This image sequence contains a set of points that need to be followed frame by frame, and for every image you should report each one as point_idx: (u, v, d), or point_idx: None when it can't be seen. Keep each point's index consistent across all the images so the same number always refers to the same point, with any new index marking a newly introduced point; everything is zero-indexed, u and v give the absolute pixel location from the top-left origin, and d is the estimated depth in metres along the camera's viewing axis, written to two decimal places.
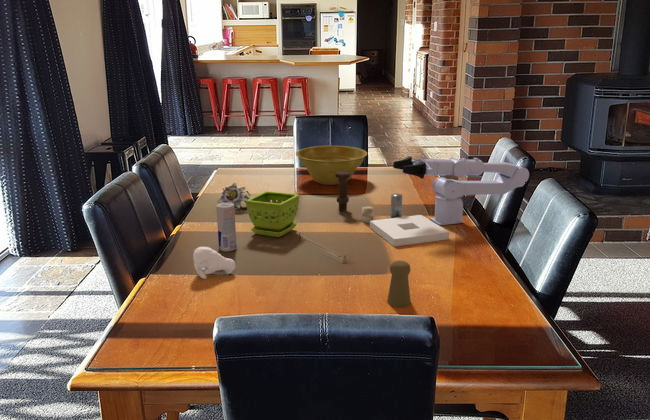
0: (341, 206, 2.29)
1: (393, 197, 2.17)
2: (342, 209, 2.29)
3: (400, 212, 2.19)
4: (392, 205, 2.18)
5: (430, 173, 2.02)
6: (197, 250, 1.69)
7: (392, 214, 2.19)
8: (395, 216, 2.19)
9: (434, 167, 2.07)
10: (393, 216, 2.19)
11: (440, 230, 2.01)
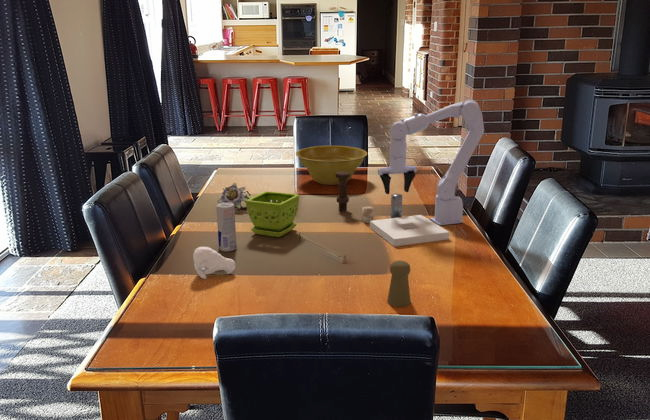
0: (341, 206, 2.29)
1: (393, 197, 2.17)
2: (342, 209, 2.29)
3: (400, 212, 2.19)
4: (392, 205, 2.18)
5: (379, 171, 2.13)
6: (197, 250, 1.69)
7: (392, 214, 2.19)
8: (395, 216, 2.19)
9: (390, 159, 2.14)
10: (393, 216, 2.19)
11: (440, 230, 2.01)
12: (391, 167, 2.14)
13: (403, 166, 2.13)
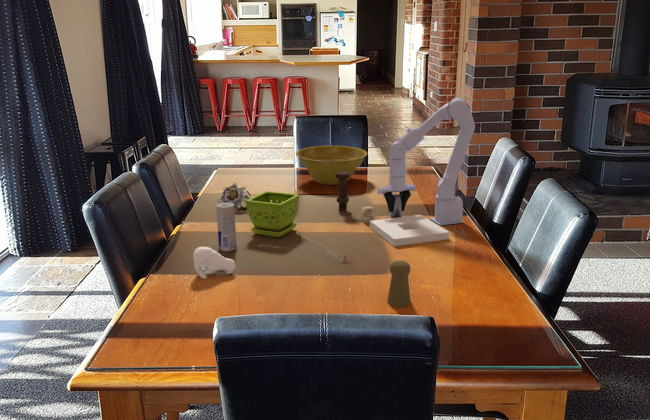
0: (341, 206, 2.29)
1: None
2: (342, 209, 2.29)
3: (400, 212, 2.19)
4: None
5: (379, 190, 2.15)
6: (197, 250, 1.69)
7: (392, 214, 2.19)
8: (395, 216, 2.19)
9: (389, 178, 2.16)
10: (393, 216, 2.19)
11: (440, 230, 2.01)
12: (391, 186, 2.16)
13: (402, 185, 2.15)
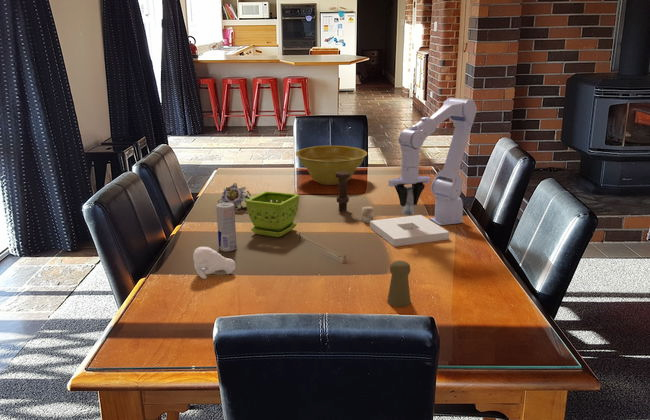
0: (341, 206, 2.29)
1: None
2: (342, 209, 2.29)
3: (412, 206, 2.02)
4: None
5: (390, 182, 1.98)
6: (197, 250, 1.69)
7: (404, 208, 2.03)
8: (407, 210, 2.02)
9: (401, 169, 1.99)
10: (405, 210, 2.02)
11: (440, 230, 2.01)
12: (403, 178, 1.99)
13: (416, 177, 1.98)
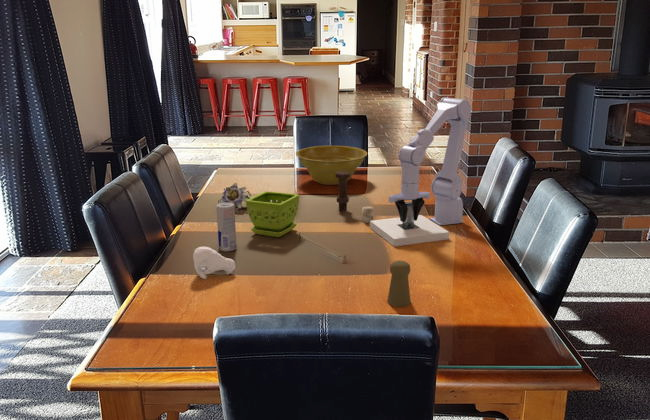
0: (341, 206, 2.29)
1: None
2: (342, 209, 2.29)
3: (412, 221, 2.03)
4: None
5: (390, 198, 1.99)
6: (197, 250, 1.69)
7: (404, 224, 2.04)
8: (407, 226, 2.03)
9: (401, 185, 2.00)
10: (405, 226, 2.03)
11: (440, 230, 2.01)
12: (403, 194, 2.00)
13: (416, 193, 1.99)
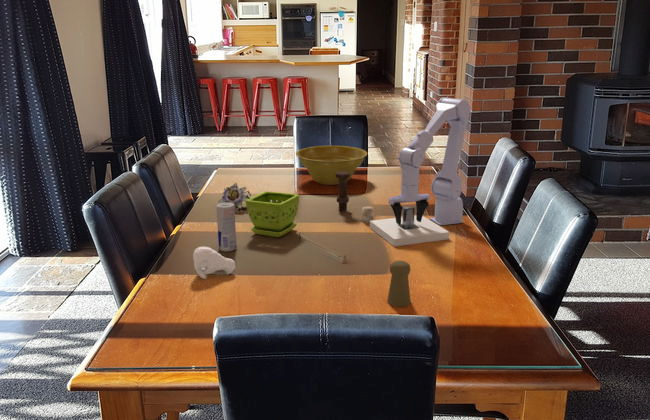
0: (341, 206, 2.29)
1: (404, 210, 2.02)
2: (342, 209, 2.29)
3: (412, 226, 2.03)
4: (403, 218, 2.03)
5: (390, 200, 1.99)
6: (197, 250, 1.69)
7: (404, 228, 2.04)
8: None
9: (401, 187, 2.00)
10: None
11: (440, 230, 2.01)
12: (403, 196, 2.00)
13: (416, 195, 1.99)
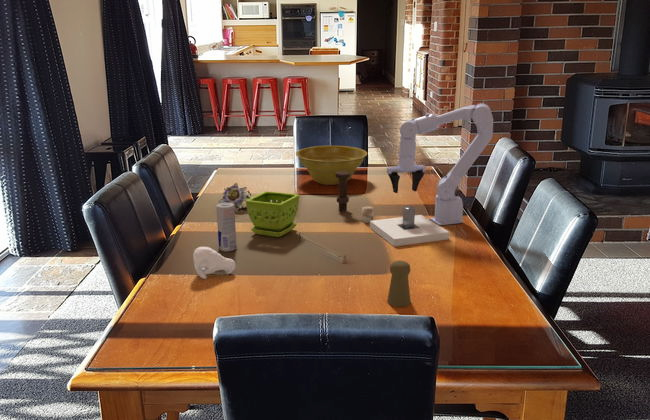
0: (341, 206, 2.29)
1: (405, 210, 2.02)
2: (342, 209, 2.29)
3: (412, 226, 2.03)
4: (404, 219, 2.03)
5: (388, 170, 2.12)
6: (197, 250, 1.69)
7: (404, 228, 2.04)
8: None
9: (399, 158, 2.13)
10: None
11: (440, 230, 2.01)
12: (400, 166, 2.13)
13: (412, 165, 2.12)
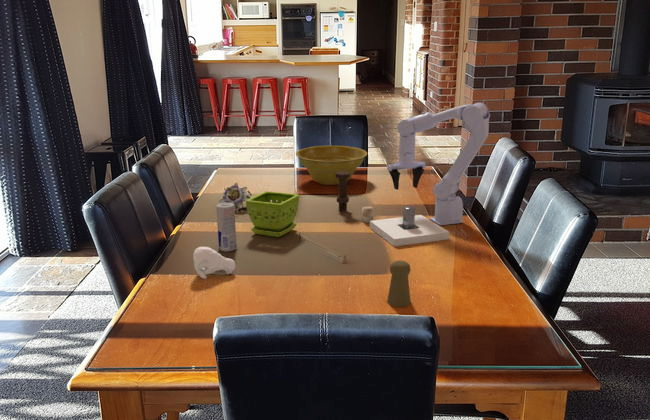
0: (341, 206, 2.29)
1: (405, 210, 2.02)
2: (342, 209, 2.29)
3: (412, 226, 2.03)
4: (404, 218, 2.03)
5: (389, 167, 2.17)
6: (197, 250, 1.69)
7: (404, 228, 2.04)
8: None
9: (399, 155, 2.18)
10: None
11: (440, 230, 2.01)
12: (400, 163, 2.18)
13: (412, 162, 2.17)
